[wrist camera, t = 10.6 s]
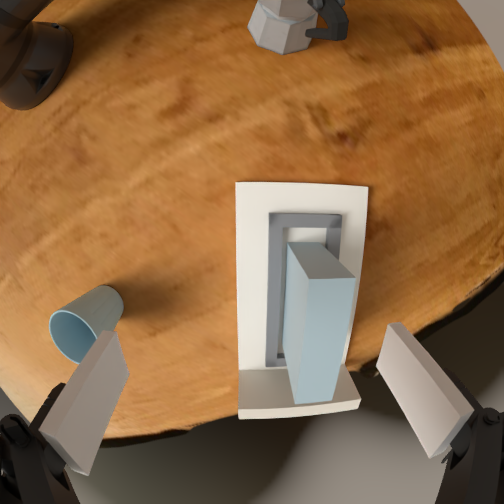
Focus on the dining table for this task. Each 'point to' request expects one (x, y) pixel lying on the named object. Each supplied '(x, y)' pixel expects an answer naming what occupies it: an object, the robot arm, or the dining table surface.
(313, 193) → the track
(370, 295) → the dining table surface
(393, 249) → the dining table surface
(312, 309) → the light blue block
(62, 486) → the robot arm
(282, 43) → the coffee maker
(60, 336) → the cup
